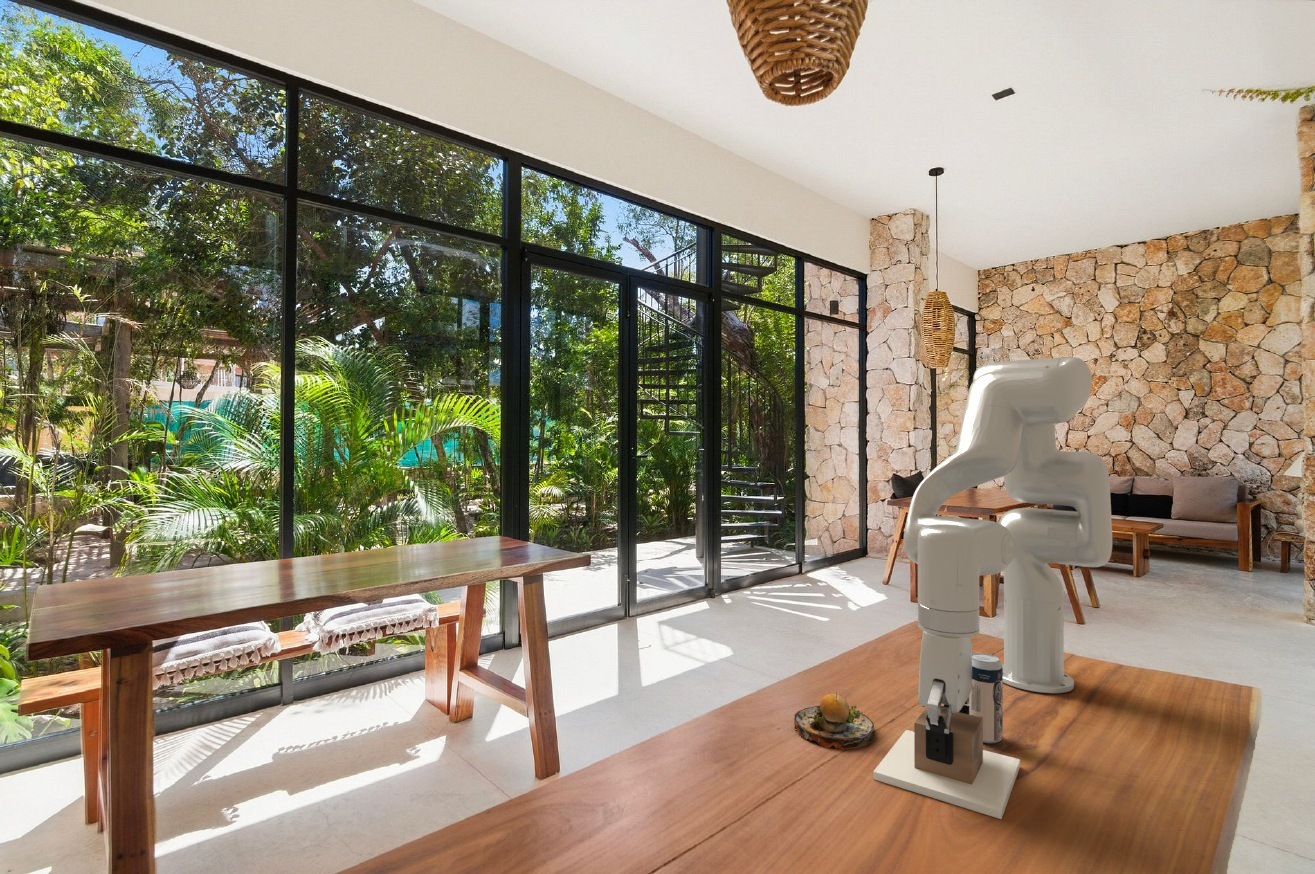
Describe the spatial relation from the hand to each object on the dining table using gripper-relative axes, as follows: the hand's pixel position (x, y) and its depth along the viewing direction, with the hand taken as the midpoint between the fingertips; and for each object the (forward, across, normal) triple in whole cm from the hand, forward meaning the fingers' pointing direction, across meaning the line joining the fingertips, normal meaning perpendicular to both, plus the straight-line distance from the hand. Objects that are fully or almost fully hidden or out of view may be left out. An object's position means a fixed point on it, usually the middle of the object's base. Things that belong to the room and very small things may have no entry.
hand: (948, 745), depth 86 cm
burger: (+4, -3, -17) cm, 18 cm away
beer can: (+4, -14, +2) cm, 14 cm away
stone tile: (+4, 0, 0) cm, 4 cm away
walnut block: (+2, 0, 0) cm, 3 cm away
